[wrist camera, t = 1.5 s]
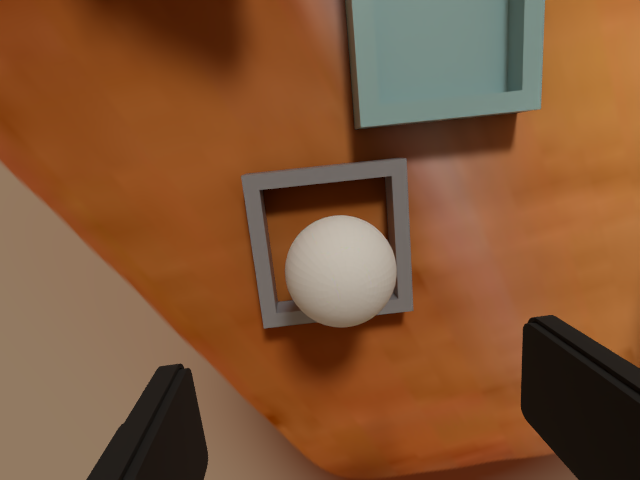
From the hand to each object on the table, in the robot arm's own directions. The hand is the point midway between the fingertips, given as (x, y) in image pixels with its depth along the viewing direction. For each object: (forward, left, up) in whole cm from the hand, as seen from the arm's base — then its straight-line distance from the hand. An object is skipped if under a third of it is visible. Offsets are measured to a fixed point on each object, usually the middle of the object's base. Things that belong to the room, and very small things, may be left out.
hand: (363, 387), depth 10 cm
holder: (0, 0, -17) cm, 17 cm away
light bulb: (0, 0, -17) cm, 17 cm away
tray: (-9, -13, -17) cm, 23 cm away
